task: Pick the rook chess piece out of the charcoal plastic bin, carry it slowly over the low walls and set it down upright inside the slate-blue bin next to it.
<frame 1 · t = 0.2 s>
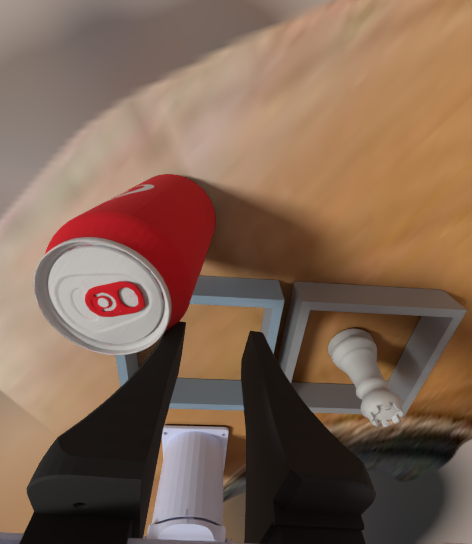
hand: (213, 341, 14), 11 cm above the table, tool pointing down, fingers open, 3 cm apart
slate bin: (198, 336, 28), on the table
beverage can: (176, 215, 22), on the table, touching gripper
charcoal bin: (348, 343, 29), on the table
rook chess piece: (347, 341, 29), resting in charcoal bin
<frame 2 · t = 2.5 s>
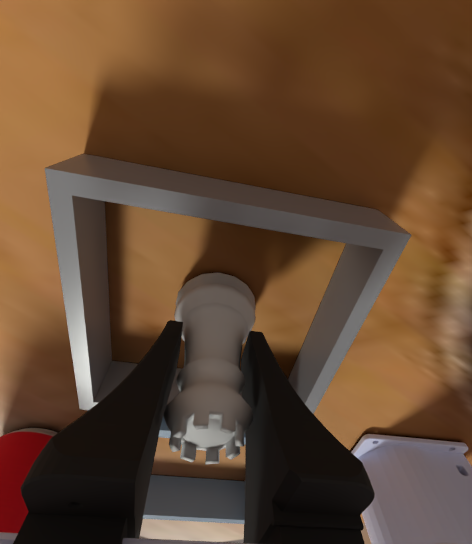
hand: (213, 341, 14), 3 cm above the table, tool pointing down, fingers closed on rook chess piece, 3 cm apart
slate bin: (188, 442, 24), on the table
beverage can: (44, 440, 24), on the table
charcoal bin: (216, 301, 16), on the table
rook chess piece: (216, 299, 17), resting in charcoal bin, touching gripper
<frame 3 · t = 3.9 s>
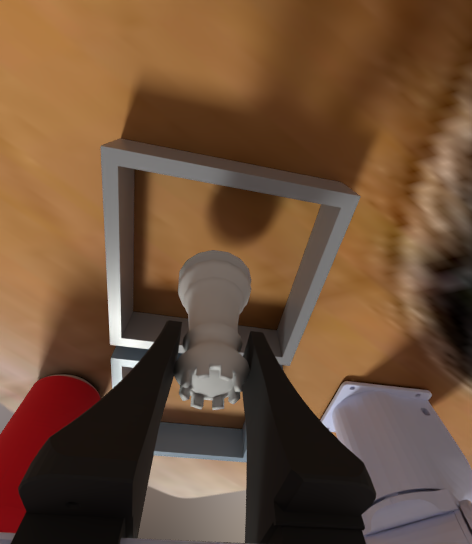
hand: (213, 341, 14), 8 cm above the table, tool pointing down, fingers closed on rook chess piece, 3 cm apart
slate bin: (194, 389, 28), on the table
beverage can: (72, 388, 28), on the table
charcoal bin: (218, 258, 21), on the table
rook chess piece: (215, 275, 18), point 3 cm above the table, touching gripper
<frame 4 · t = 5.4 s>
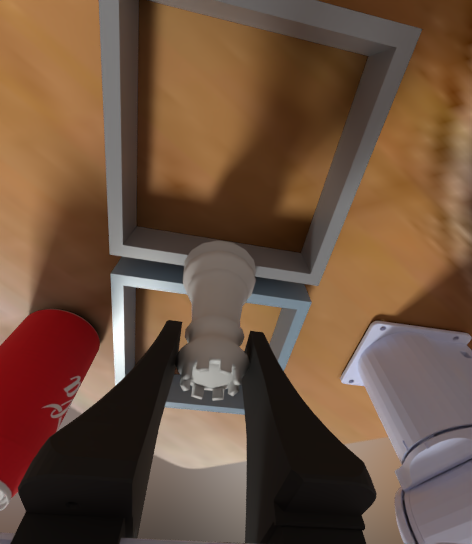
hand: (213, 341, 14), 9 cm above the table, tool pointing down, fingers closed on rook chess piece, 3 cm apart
slate bin: (205, 331, 25), on the table
beverage can: (67, 330, 25), on the table
charcoal bin: (236, 152, 18), on the table
rook chess piece: (220, 264, 18), point 3 cm above the table, touching gripper
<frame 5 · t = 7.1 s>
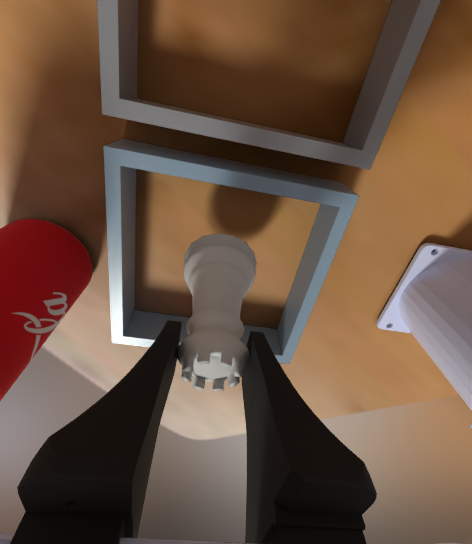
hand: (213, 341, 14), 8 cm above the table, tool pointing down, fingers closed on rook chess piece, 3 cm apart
slate bin: (219, 257, 21), on the table
beverage can: (53, 254, 21), on the table
rook chess piece: (220, 257, 18), point 2 cm above the table, touching gripper
when the fingers open (5 cm above the table, at t = 8.2 s): rook chess piece stays where it is, resting in slate bin.
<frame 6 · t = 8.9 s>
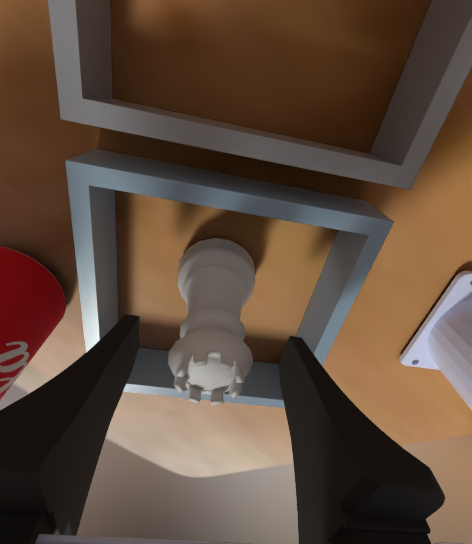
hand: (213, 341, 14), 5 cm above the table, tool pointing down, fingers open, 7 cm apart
slate bin: (217, 287, 18), on the table
beverage can: (20, 283, 17), on the table
rook chess piece: (217, 267, 17), resting in slate bin
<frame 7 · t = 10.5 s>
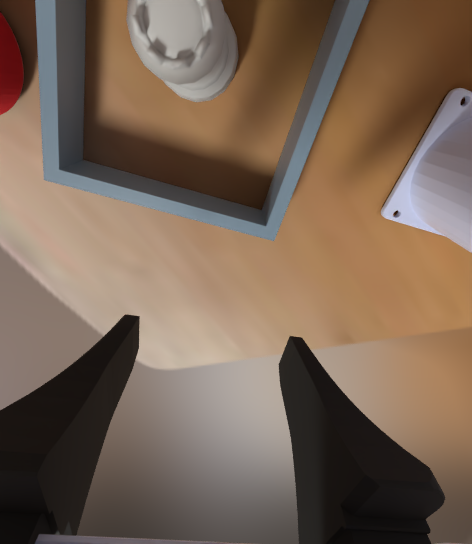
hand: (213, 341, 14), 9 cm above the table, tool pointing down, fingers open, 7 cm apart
slate bin: (196, 83, 16), on the table
rook chess piece: (197, 54, 16), resting in slate bin
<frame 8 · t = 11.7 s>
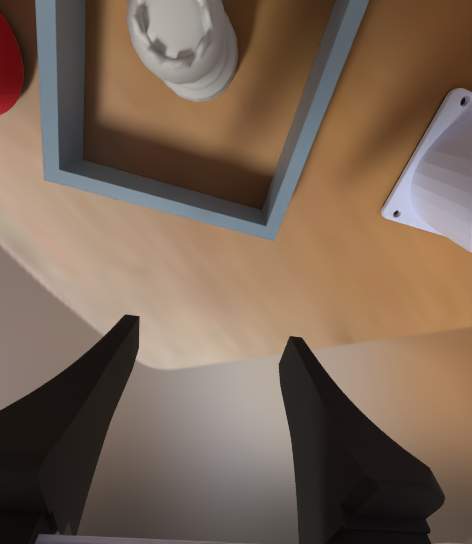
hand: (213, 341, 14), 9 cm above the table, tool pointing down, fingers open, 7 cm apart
slate bin: (196, 83, 16), on the table
rook chess piece: (197, 54, 16), resting in slate bin
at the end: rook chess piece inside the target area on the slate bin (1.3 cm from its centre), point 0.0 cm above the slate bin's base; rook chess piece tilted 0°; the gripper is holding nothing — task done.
